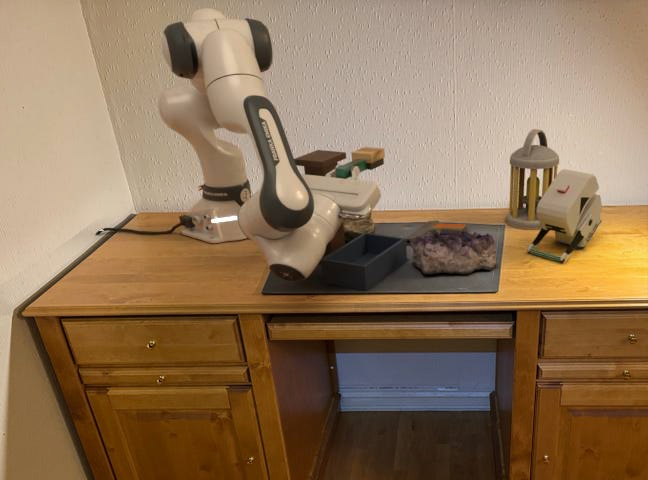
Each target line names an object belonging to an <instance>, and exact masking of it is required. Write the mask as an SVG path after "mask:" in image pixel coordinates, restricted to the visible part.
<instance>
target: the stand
mask: <svg viewBox="0 0 648 480" xmlns="http://www.w3.org/2000/svg"><path fill="white" fill-rule="evenodd" d="M346 159H347V152H345V151H335V150H323V149H316V150H314V151H311V152H309V153H305V154H303V155H301V156H298V157H296V158H294V160H295V163H296V166H297V167H298V166H299V167H303V170H304V171H303V172H304V174H305V175H315V176H324V177H325V176H326V174H327V173H329V172H331V171H332V170H334V169H335V168H336V166H337V165H339V164H338V163H339V162H341V161H343V160H346ZM345 244H346V240H345V236H344V226H343V222H342V223H341V225H340V227H339V229H338V230H337V232H336V234H335V236H334V237H333V239H332V240H331V241H330V242H329V243H328V244H327V246H326V250H325V253H324V255H323V257H322V258H324V257H325V256H327V255H329V254H330V253H332V252H334V251H335V250H337V249H339V248H340V247H342V246H344V245H345ZM322 258H321V259H322ZM318 264H321V260H320V262H319V263H318Z"/></svg>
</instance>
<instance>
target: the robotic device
mask: <svg viewBox="0 0 648 480" xmlns="http://www.w3.org/2000/svg"><path fill="white" fill-rule="evenodd" d="M599 187H600V186H599V183H598V179H597V177H596V175H595V174H593V173H588V172H583V171H576V170H572V169H565V168H564V169H560V171H559V172H557V176H556V177H555V179H554V178H553V181H552V183H551V185H550V186H549V188H548V189H547V191H546V192H545V194H544V195H543V197H542V196H541V197H542V198H541V200H540V201H539V203H538V205H537V210H536V212H537V217H538V219H539V222H540V224H541V226H542V229H539V232H538V233H537V235H536V236H535V238H534V240H533V241H532V242H531V243H530V245H529V246H528V247H527V250H526V251H527V254H530V255H531V254H532V255H535V256H538V257H542V258H545V259H549V260H553V261H555V262H560V263H561V264H565V263H566V262H567V260H568V259H569V258H570V257H571V255H572V253H573V251H574V250H576V248H577V249H579V250H580V249H581V250H584V249H585V248H586V247H587V245H588V243H589V241H590V240H591V238H592V237H593V235H594V233H596V230H597V229H598V227H599V226H600V225H601V223H602V219H601V213H602V212H603V211H602V210H603V205H602V199H601V195H600V194H596V193H597V192H598V190H599ZM550 231H553V232H554V241H555V242H556V243H558V244H561V245H566V246H568V247H567V248H566V250H565V251H564V253H562V255H561V256H559V255H555V254H551V253H548V252H545V251H541V250H537V248H538V246H539V244H540V243H541V242H542V240H543V239H544V238H545V237H546V236H547V234H548V233H549V232H550Z"/></svg>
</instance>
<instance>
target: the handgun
mask: <svg viewBox="0 0 648 480" xmlns="http://www.w3.org/2000/svg"><path fill="white" fill-rule="evenodd" d="M462 231H467V224H464V223H441V222H440V221H439V220H435V219H434V220H428V221H427V222H426V223H424V224H423V225H421V227H419V228H418V229H417V230H416V231H414V232H413V233H412V234H411V235H410V236H408V237H406V246H407V245H408V246H411V240H412V238H415V237H421V238H423V236H424V235H426V234H430V235H433V236H435V234H440V235H451V234H453V233H456V232H458V234H459V235H461V233H462Z"/></svg>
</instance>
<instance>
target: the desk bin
mask: <svg viewBox="0 0 648 480" xmlns="http://www.w3.org/2000/svg"><path fill="white" fill-rule="evenodd" d="M406 239H407V237H398V236H392V235H386V234H378V233H375V234H372V233H363V234H362V235H360V236H358V237H357V238H355V239H353V240H352V241H348V242H347V243H345V245H344V246H342V247H340V248H339V249H337V250H335V251H334V252H332V253H330V254H329V255H327V256H325V257H324V258H322V259H321V263H320V266H321V274H322V282H323V283H322V284H327V285H333V286H339V287H344V288H349V289H354V290H360V291H366V292H367V291H369V290H370V289H371V288H372V287H374V286H375V285H377V284H378V283H379V282H381V281H382V280H383V279H384V278H386V277H387V276H388V275H390V274H391V273H393V272H394V271H395V270H396V269H398V268H400V267H401V266H402V265H404V264H405V263H407V261H408V256H407V255H408V254H407V253H408V252H407V244H406Z"/></svg>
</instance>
